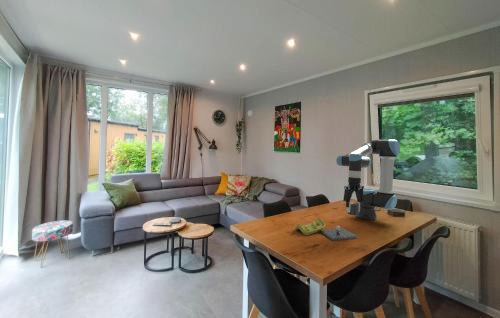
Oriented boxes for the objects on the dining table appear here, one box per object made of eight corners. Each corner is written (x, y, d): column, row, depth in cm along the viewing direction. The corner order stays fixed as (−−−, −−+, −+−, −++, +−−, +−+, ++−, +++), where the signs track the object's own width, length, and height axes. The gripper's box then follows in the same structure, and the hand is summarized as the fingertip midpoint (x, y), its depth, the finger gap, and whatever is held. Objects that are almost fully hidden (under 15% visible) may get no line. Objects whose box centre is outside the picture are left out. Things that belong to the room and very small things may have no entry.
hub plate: (343, 230, 159) (343, 221, 159) (358, 238, 145) (358, 229, 144) (320, 232, 155) (320, 223, 154) (333, 241, 140) (333, 231, 140)
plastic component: (306, 232, 147) (297, 222, 155) (303, 240, 151) (294, 230, 158) (328, 226, 157) (318, 216, 164) (324, 233, 160) (315, 223, 168)
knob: (353, 212, 154) (354, 201, 154) (360, 215, 148) (361, 204, 148) (345, 212, 152) (345, 202, 152) (352, 215, 146) (352, 204, 146)
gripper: (362, 176, 155) (361, 209, 156) (338, 176, 150) (336, 210, 151) (371, 177, 148) (369, 212, 149) (345, 177, 143) (344, 214, 144)
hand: (353, 211), depth 150 cm, fingers closed on knob, 7 cm apart
